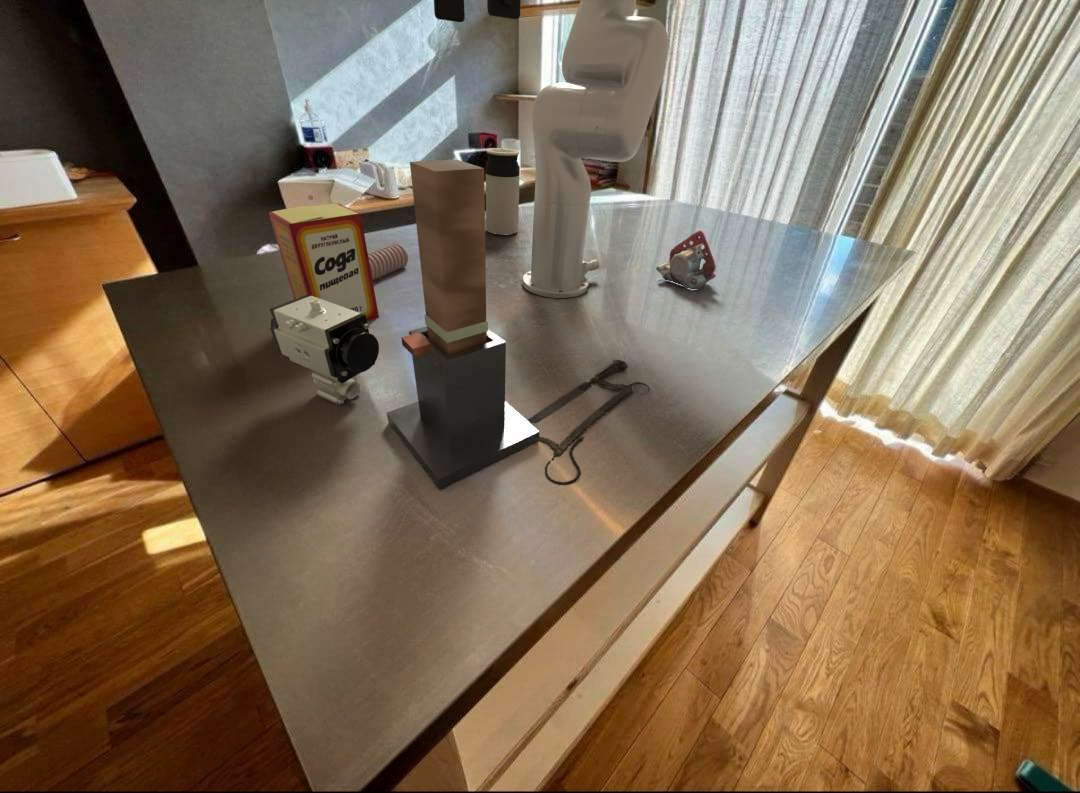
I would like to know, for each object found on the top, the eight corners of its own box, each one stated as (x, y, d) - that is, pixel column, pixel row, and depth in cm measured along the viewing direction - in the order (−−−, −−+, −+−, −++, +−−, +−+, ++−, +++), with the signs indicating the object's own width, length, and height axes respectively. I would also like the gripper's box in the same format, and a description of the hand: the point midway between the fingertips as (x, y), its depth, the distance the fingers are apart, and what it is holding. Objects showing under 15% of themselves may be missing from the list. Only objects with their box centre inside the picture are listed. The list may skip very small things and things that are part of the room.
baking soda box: (358, 303, 72) (337, 200, 63) (378, 317, 69) (360, 210, 59) (300, 319, 66) (267, 209, 57) (319, 335, 63) (287, 220, 54)
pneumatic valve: (322, 371, 56) (296, 281, 49) (390, 401, 52) (373, 308, 45) (283, 392, 52) (249, 298, 45) (354, 426, 48) (329, 329, 41)
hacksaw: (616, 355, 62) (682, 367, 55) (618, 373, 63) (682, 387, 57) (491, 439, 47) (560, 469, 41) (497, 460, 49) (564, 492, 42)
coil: (339, 274, 71) (411, 246, 84) (317, 265, 72) (392, 239, 86) (342, 299, 74) (412, 268, 87) (322, 291, 75) (393, 261, 88)
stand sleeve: (480, 388, 55) (477, 293, 47) (538, 441, 47) (546, 338, 40) (388, 423, 48) (368, 319, 41) (439, 490, 41) (427, 379, 34)
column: (466, 349, 45) (457, 159, 35) (488, 367, 42) (485, 168, 32) (429, 360, 43) (407, 161, 32) (450, 380, 40) (434, 171, 30)
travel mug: (516, 237, 107) (519, 154, 96) (484, 235, 107) (483, 151, 96) (518, 228, 113) (521, 149, 102) (488, 226, 113) (487, 147, 102)
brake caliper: (730, 275, 87) (724, 233, 78) (697, 313, 87) (687, 276, 78) (686, 259, 94) (676, 219, 85) (655, 294, 93) (642, 258, 84)
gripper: (371, -264, 35) (400, 17, 45) (490, -395, 24) (492, 9, 35) (454, -225, 39) (463, 25, 49) (586, -323, 28) (562, 21, 39)
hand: (475, 18), depth 42 cm, fingers open, 9 cm apart
